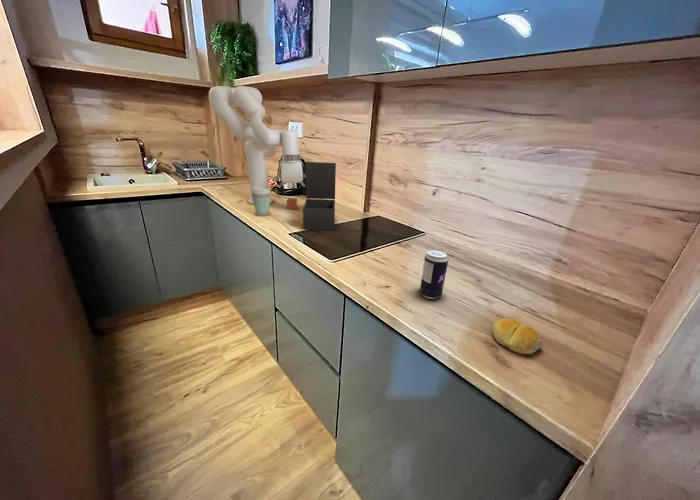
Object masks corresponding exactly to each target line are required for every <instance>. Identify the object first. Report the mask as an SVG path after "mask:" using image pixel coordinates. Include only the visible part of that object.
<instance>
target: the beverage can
mask: <svg viewBox="0 0 700 500" xmlns="http://www.w3.org/2000/svg"><path fill="white" fill-rule="evenodd" d="M426 252H427V253H426V254H425V256H424V259H423V267H422V273H421V280H420V288H419V292H420V294H421V295H422V296H423V297H424V298H426V299H429V300H436V299H438V298H440V297H442V295H443V290H444V287H445V286H444V285H445V279H446V275H447V270H448V264H449V258H448V253H447V252H446V251H444V250H440V249H429V250H428V251H426Z"/></svg>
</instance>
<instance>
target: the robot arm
mask: <svg viewBox="0 0 700 500" xmlns="http://www.w3.org/2000/svg"><path fill="white" fill-rule="evenodd" d="M208 100H209V104H210V106H211V109H212V110H213V112H214V113H215V114H216V116H217V117H218V118H219V119H220V120H221V121H222V122H223V123H224V124H225V125H226V127H227V128H228V130H230V132H231V133H232V134H233V136H234V137H235V138H236V139H237V140H238V141H239V142H242V143H244V144H243V150H244V154H245V158H246V162H247V173H248V182H249V183H248V184H249V194H250V198H248V199H247V203H248V204H251V205H254V202H253V197H252V193H251V191H252V188H253V187H269V188H270V185H269V184H270V183H269V181H270V180H269V168H268V164H267V162H266V160H265V159H266V158H272V157H274V156H275V155H276V154H277V152H278V147H281V151H282V161H281V164H280V173H279V174H276V175H275V176H274V177H273V179H274V182H275V183H276V184H277V185H278V186H279V188H280V194H281V195H282V196H284V195H285V186H284V184H300V185H301V196H304V195H305V194H306V181H305V182H304V179H306V177H305V173H304V172H303V171H304V169H303V164H302V161H301V160H302V159H303V155H300V151H299V150H300V148H299V147H300V146H299V133H298V131H297V130H295V129H282V128H281V129H280V128H268V127H267V126H266V125H265V123H264V122H263V121H262V120H263V119H264V117H265V115H266V109H265V107H264V106H263V105H262V102H263V95H262V94H261V91H260V90H259V89H258V88H256V87H252V86H248V85H247V86H246V85H238V86H235V87H231V86H224V85H216V86H213V87H211V88H210V89H209V93H208ZM233 107H237V108H238V107H239V108H240V109H241V110H242V111H243V113H244V114H245V115H246V116H247V118H248V119H249V120H250V121H247V120H245V119H244V118H243V117H242V116H241V113H239V112H238V110H236V109H234V108H233ZM279 178H280V180H281V181H280V180H279ZM273 202H274V199H273V198H271V197H270V204H272V203H273Z"/></svg>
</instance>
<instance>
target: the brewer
mask: <svg viewBox="0 0 700 500" xmlns="http://www.w3.org/2000/svg"><path fill="white" fill-rule="evenodd" d="M335 217H336V199H313V198H306V199H305V202H304V205H303V207H302V229H303V230H312V231H313V230H315V231H335V223H336V222H335V221H336V220H335V219H336V218H335Z"/></svg>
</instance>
